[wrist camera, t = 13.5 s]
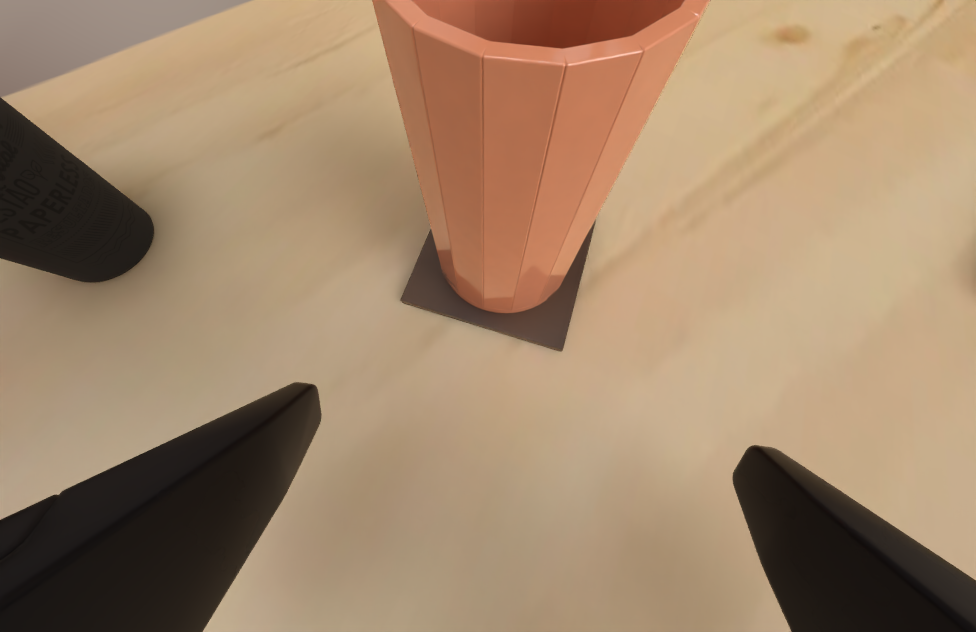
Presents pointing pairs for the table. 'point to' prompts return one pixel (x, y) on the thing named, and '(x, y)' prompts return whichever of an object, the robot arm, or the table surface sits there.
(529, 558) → the table surface
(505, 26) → the peach cup
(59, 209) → the drinking cup
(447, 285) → the walnut coaster
